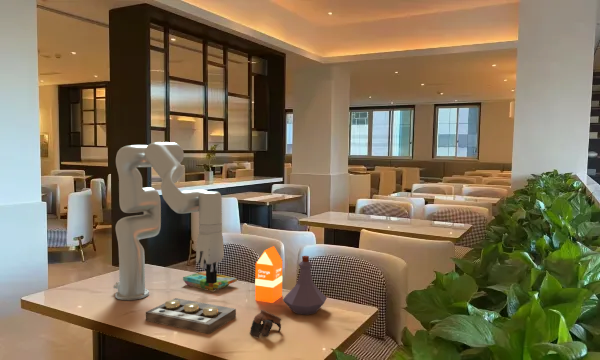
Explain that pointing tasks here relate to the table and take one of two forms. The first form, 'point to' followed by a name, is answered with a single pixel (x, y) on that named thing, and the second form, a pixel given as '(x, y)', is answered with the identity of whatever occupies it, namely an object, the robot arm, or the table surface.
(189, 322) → the button board
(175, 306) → the button
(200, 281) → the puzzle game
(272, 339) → the table surface
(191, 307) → the button middle
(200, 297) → the table surface
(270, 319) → the brown goggles
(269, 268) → the orange juice
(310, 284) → the flask
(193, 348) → the table surface
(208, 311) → the button
